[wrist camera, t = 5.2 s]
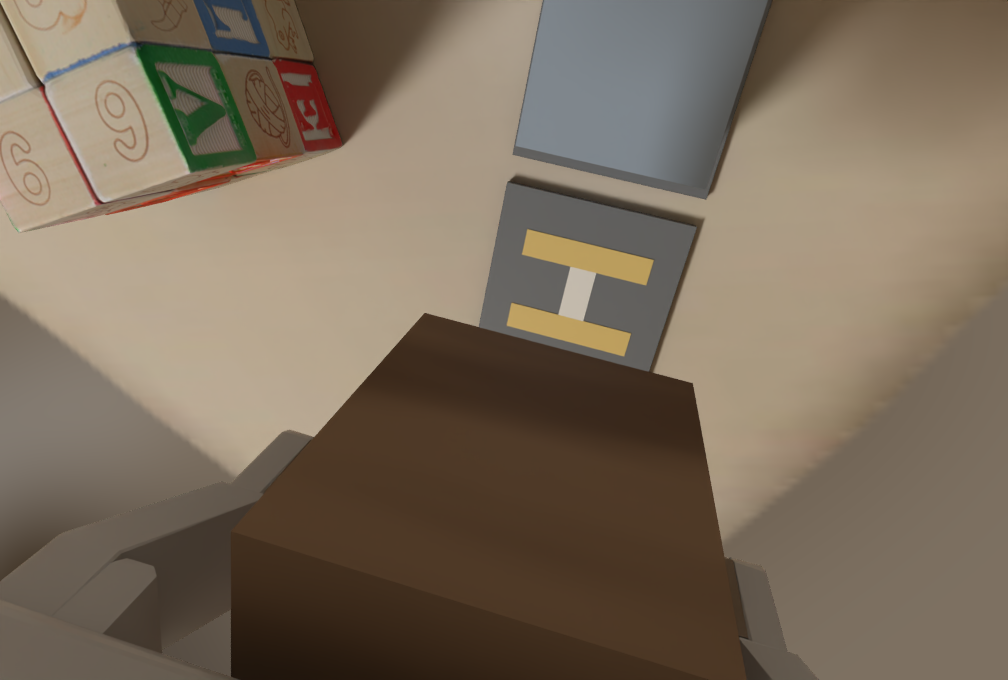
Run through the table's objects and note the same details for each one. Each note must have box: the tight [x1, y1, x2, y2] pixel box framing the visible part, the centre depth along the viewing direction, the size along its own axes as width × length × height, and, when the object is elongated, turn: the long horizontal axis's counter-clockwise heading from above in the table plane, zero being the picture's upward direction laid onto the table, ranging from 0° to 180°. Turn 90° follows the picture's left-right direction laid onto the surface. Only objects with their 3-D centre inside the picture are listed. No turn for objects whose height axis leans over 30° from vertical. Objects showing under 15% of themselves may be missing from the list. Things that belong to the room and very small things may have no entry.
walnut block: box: [231, 313, 747, 680], centre depth 9 cm, size 5×5×6 cm
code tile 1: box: [479, 181, 697, 372], centre depth 24 cm, size 7×7×1 cm
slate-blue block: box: [516, 0, 768, 190], centre depth 17 cm, size 5×5×6 cm
